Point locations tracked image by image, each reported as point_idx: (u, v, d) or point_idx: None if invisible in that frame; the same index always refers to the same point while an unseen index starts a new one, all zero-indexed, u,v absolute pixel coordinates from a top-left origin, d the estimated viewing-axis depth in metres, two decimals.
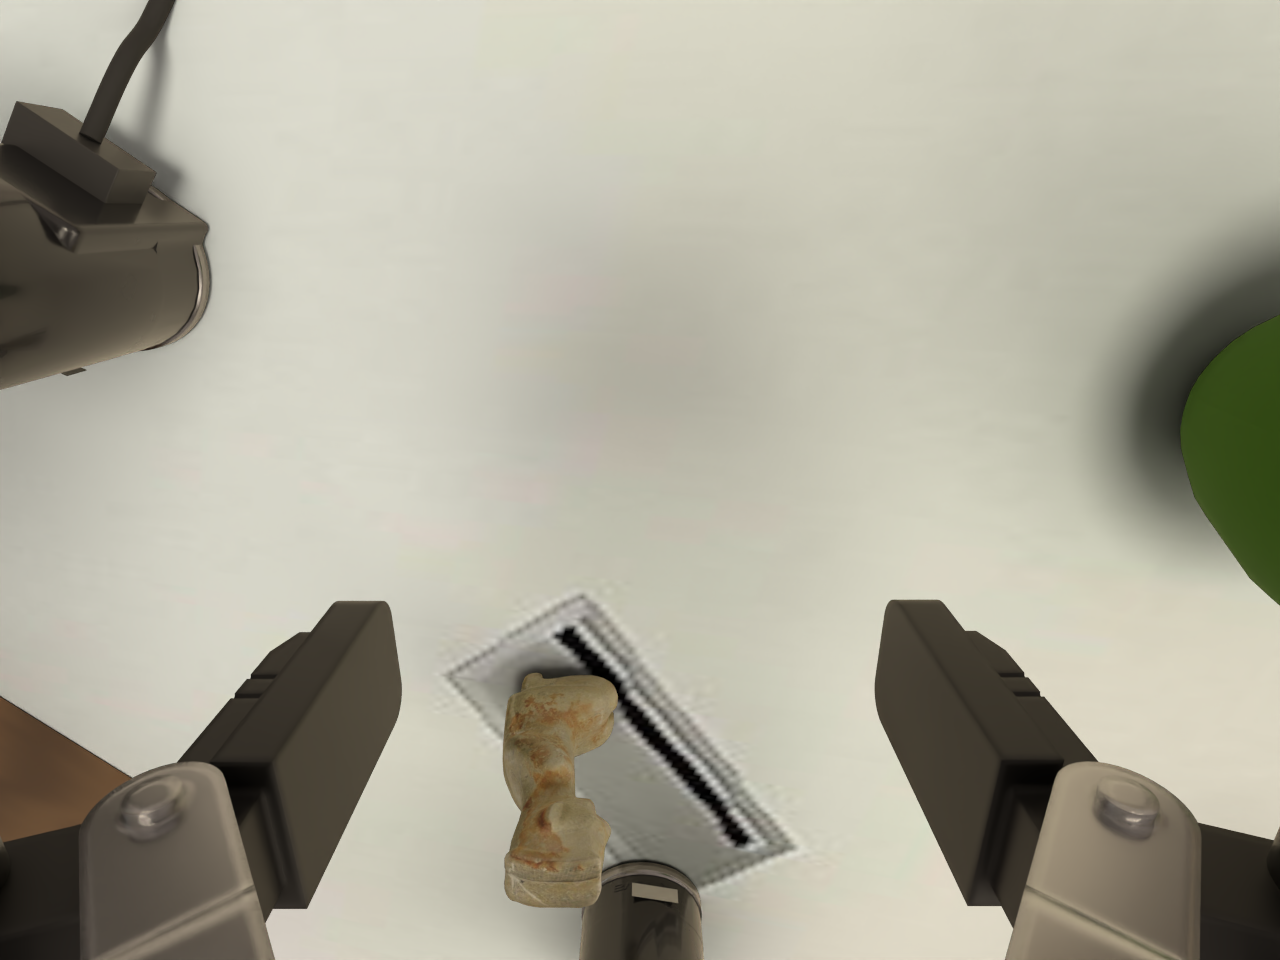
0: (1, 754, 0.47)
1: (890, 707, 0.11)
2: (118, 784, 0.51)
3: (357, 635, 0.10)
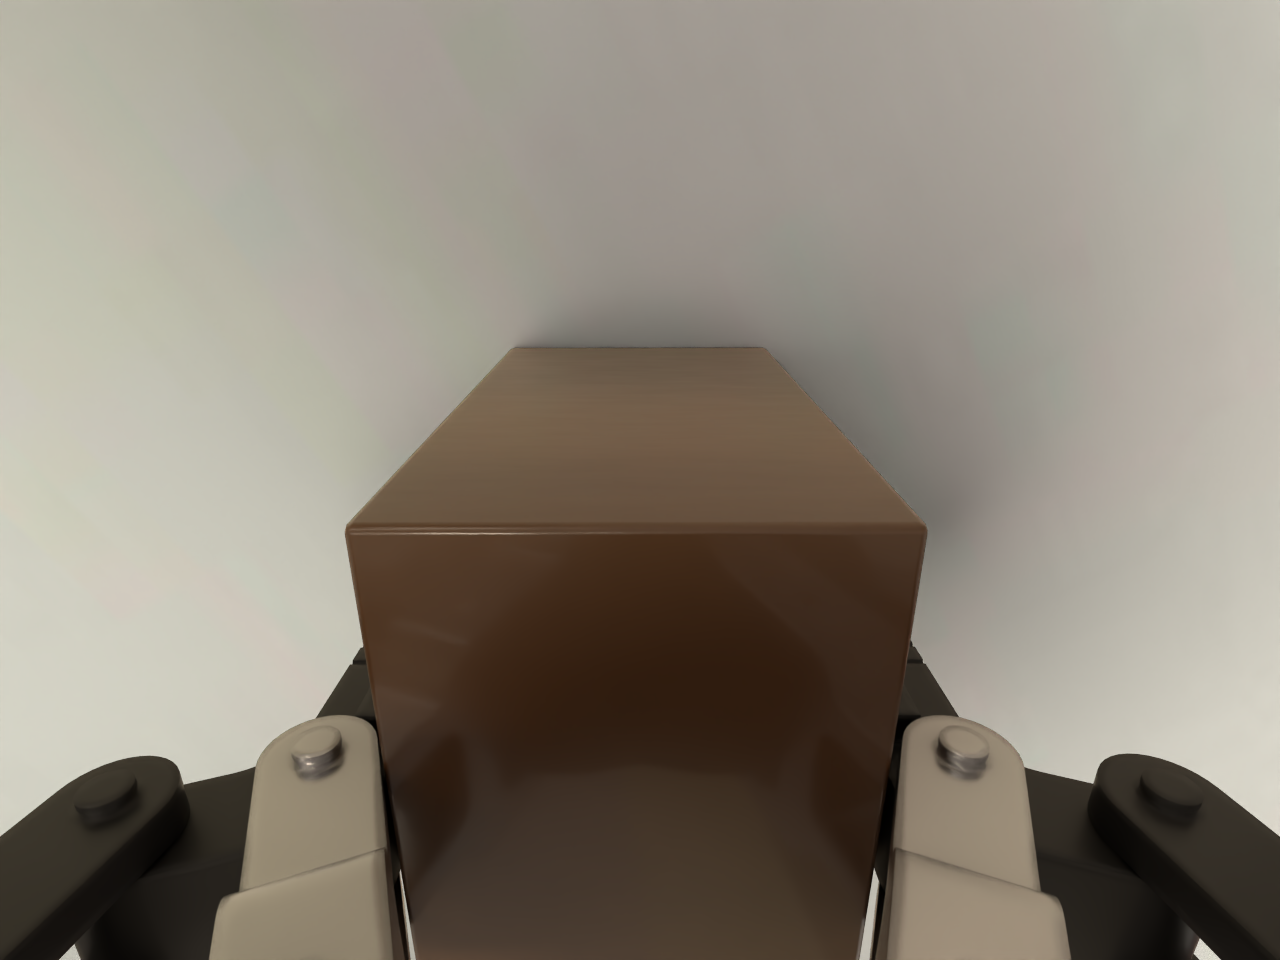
0: None
1: None
2: None
3: None
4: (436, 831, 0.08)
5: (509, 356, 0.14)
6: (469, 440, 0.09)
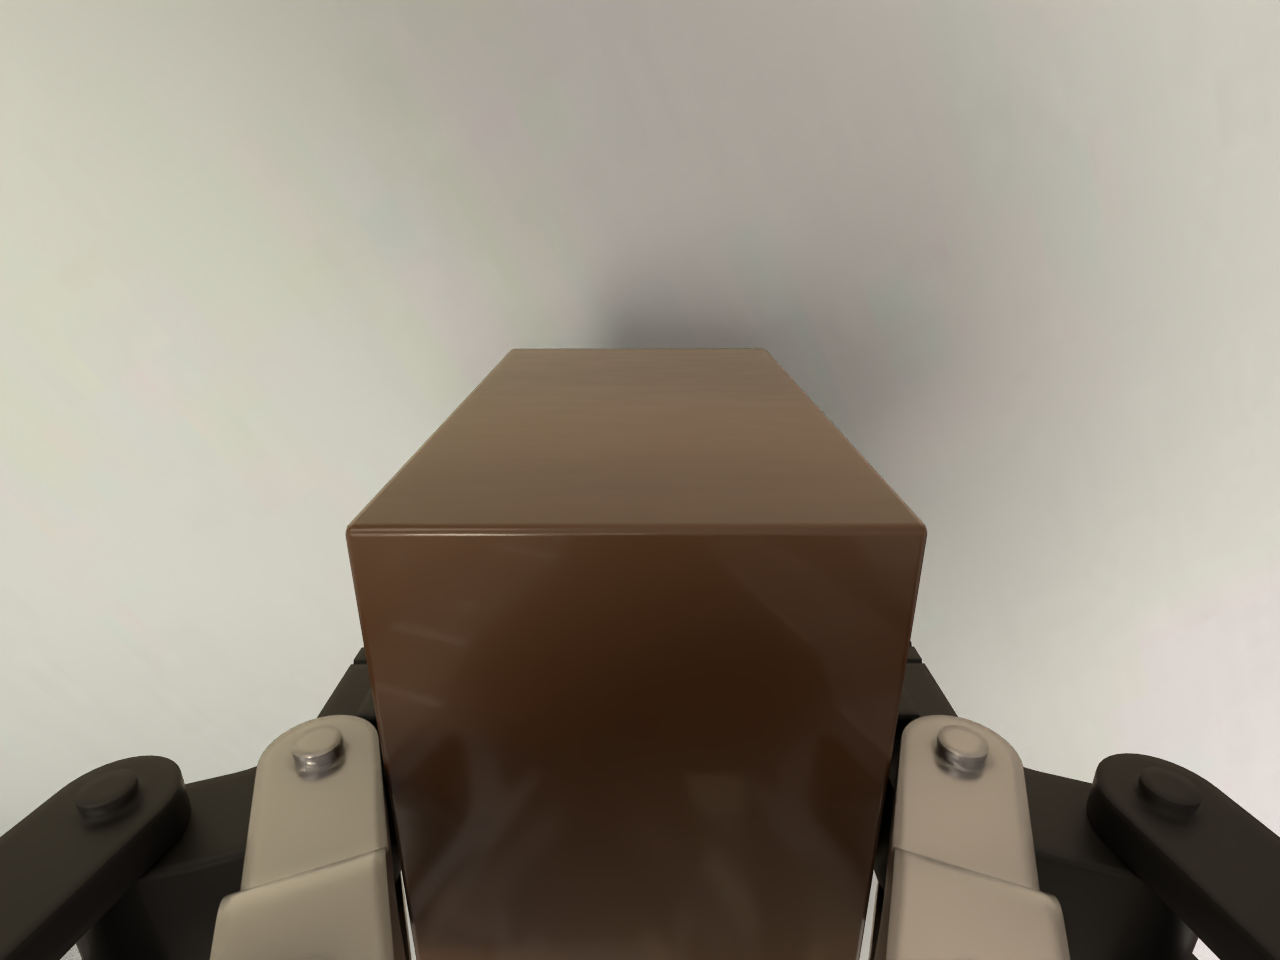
0: None
1: None
2: None
3: None
4: (438, 831, 0.08)
5: (509, 357, 0.14)
6: (469, 441, 0.09)
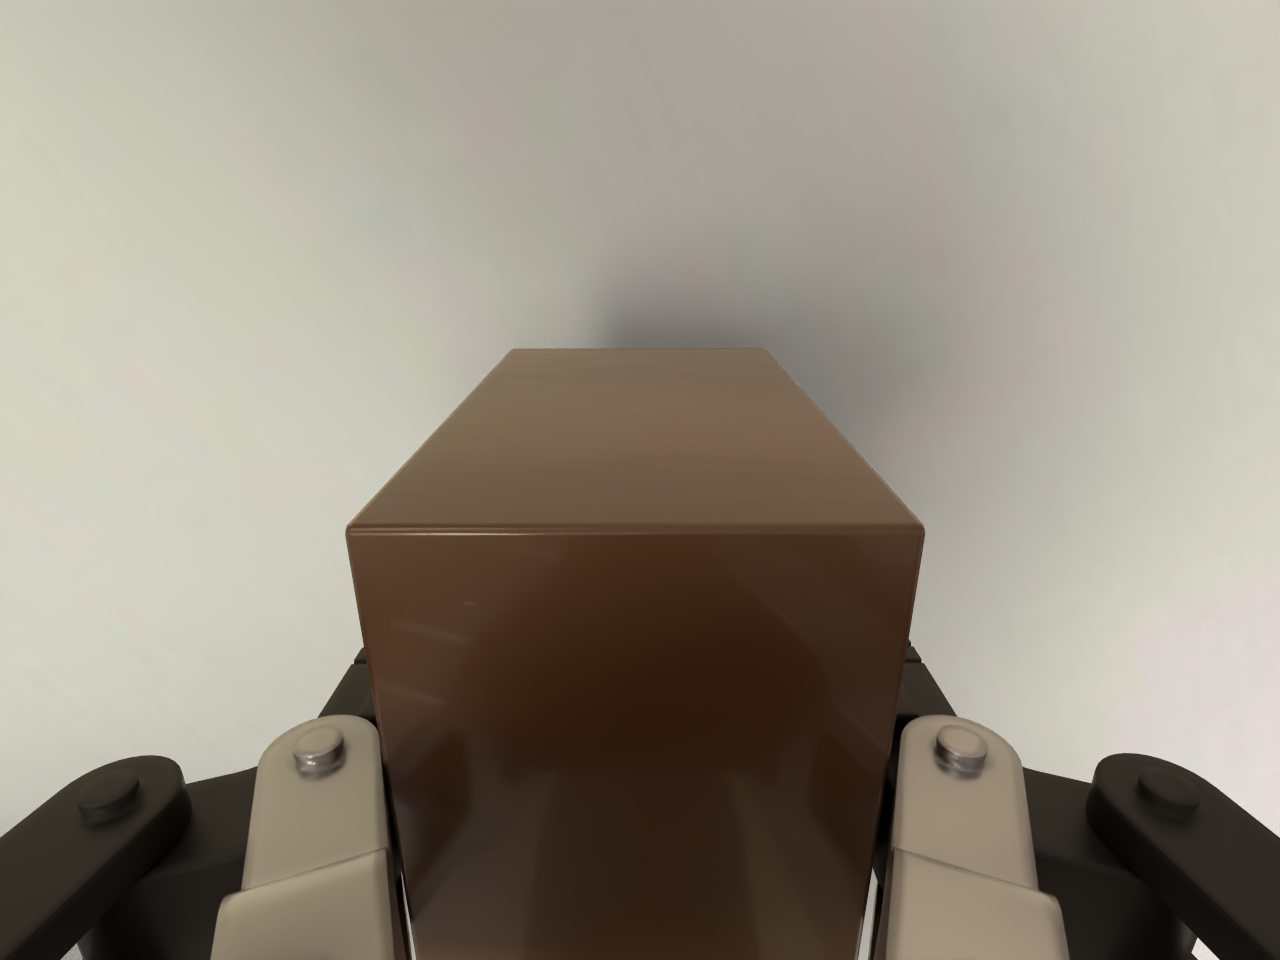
0: None
1: None
2: None
3: None
4: (437, 831, 0.08)
5: (509, 357, 0.14)
6: (469, 441, 0.09)
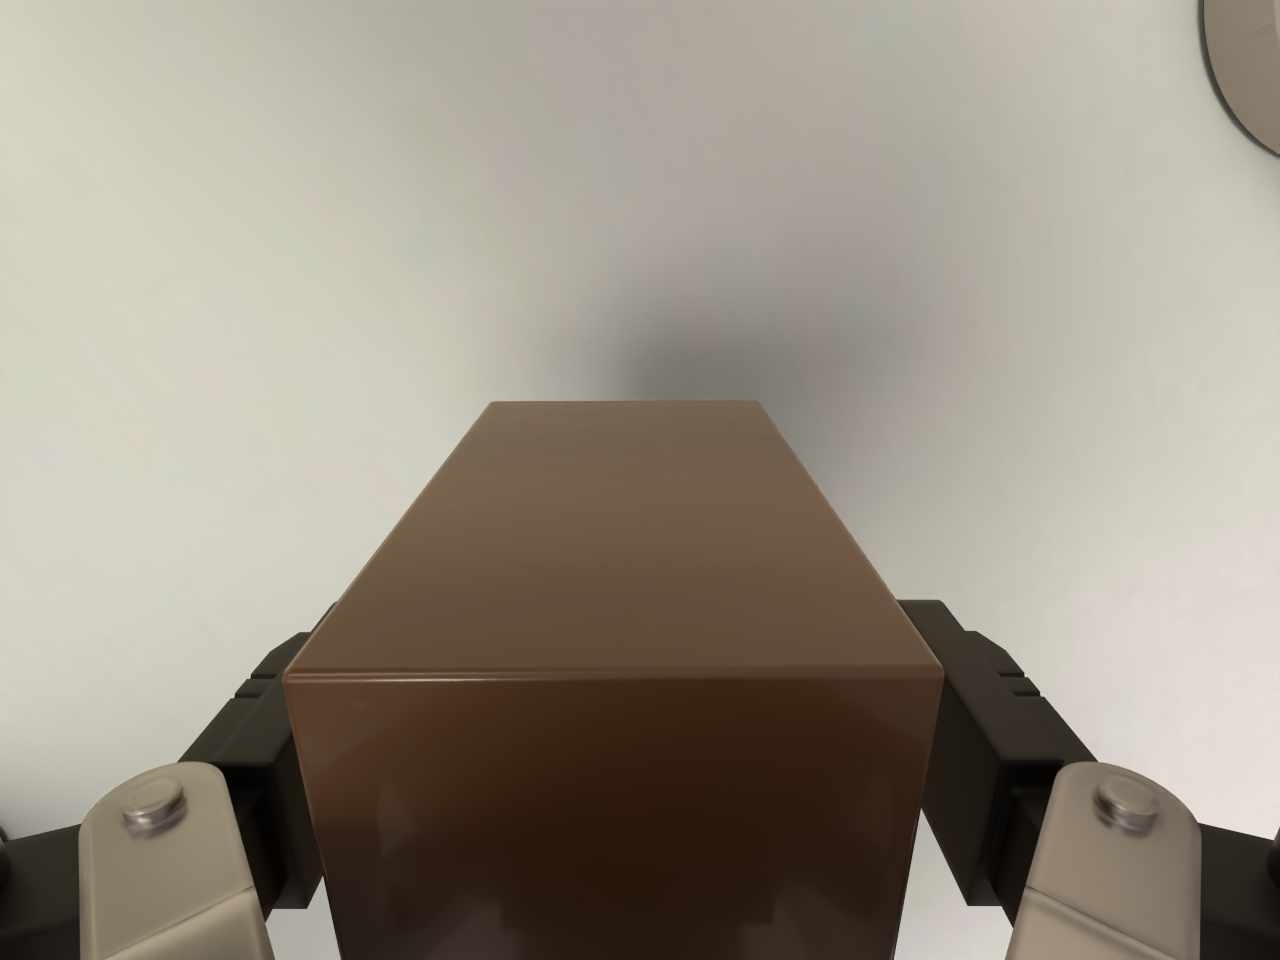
0: None
1: None
2: None
3: None
4: None
5: (487, 413, 0.13)
6: (434, 537, 0.08)
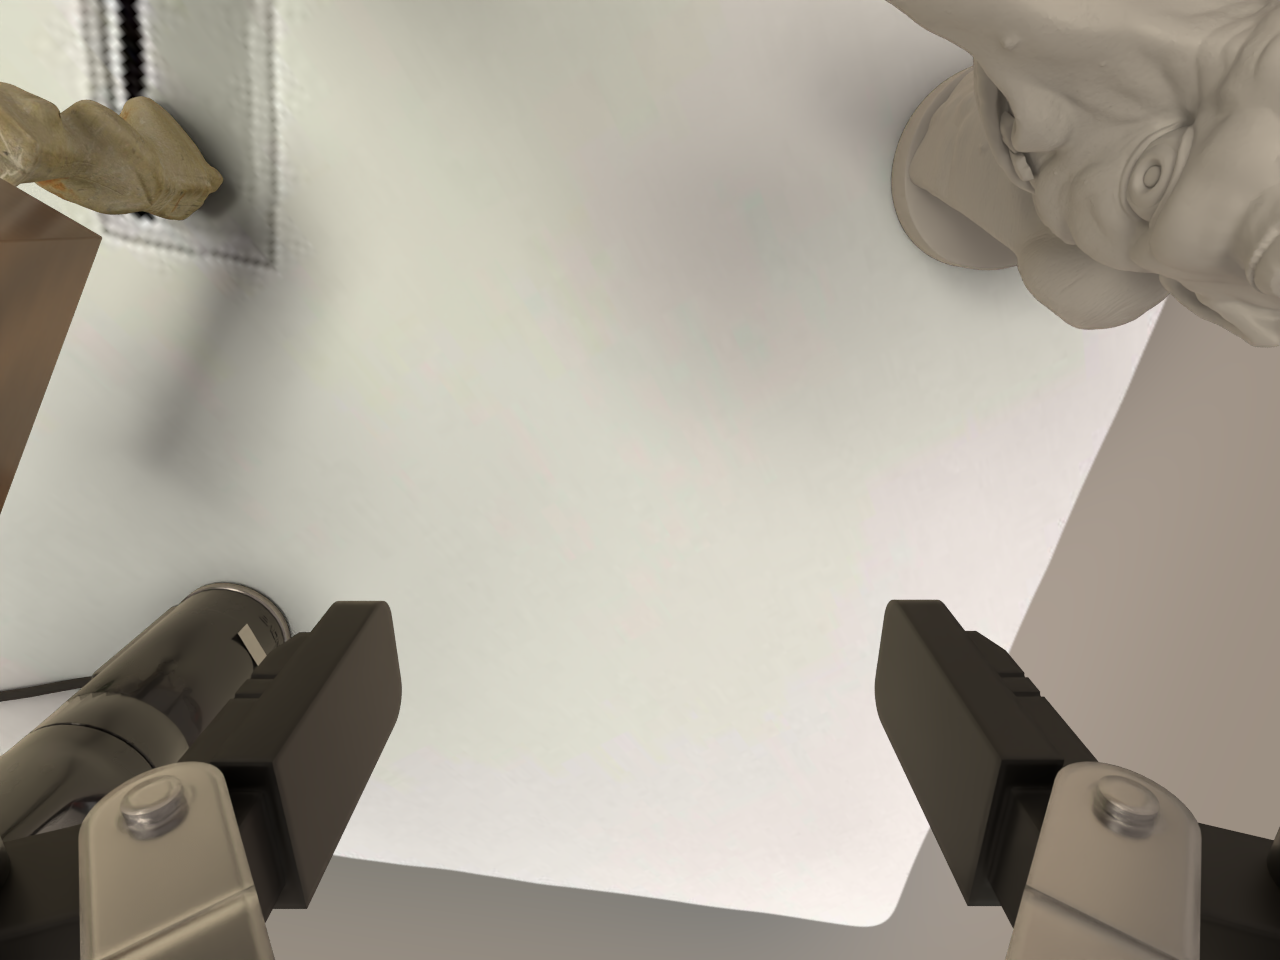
0: None
1: (890, 707, 0.11)
2: None
3: (357, 635, 0.10)
4: None
5: None
6: None
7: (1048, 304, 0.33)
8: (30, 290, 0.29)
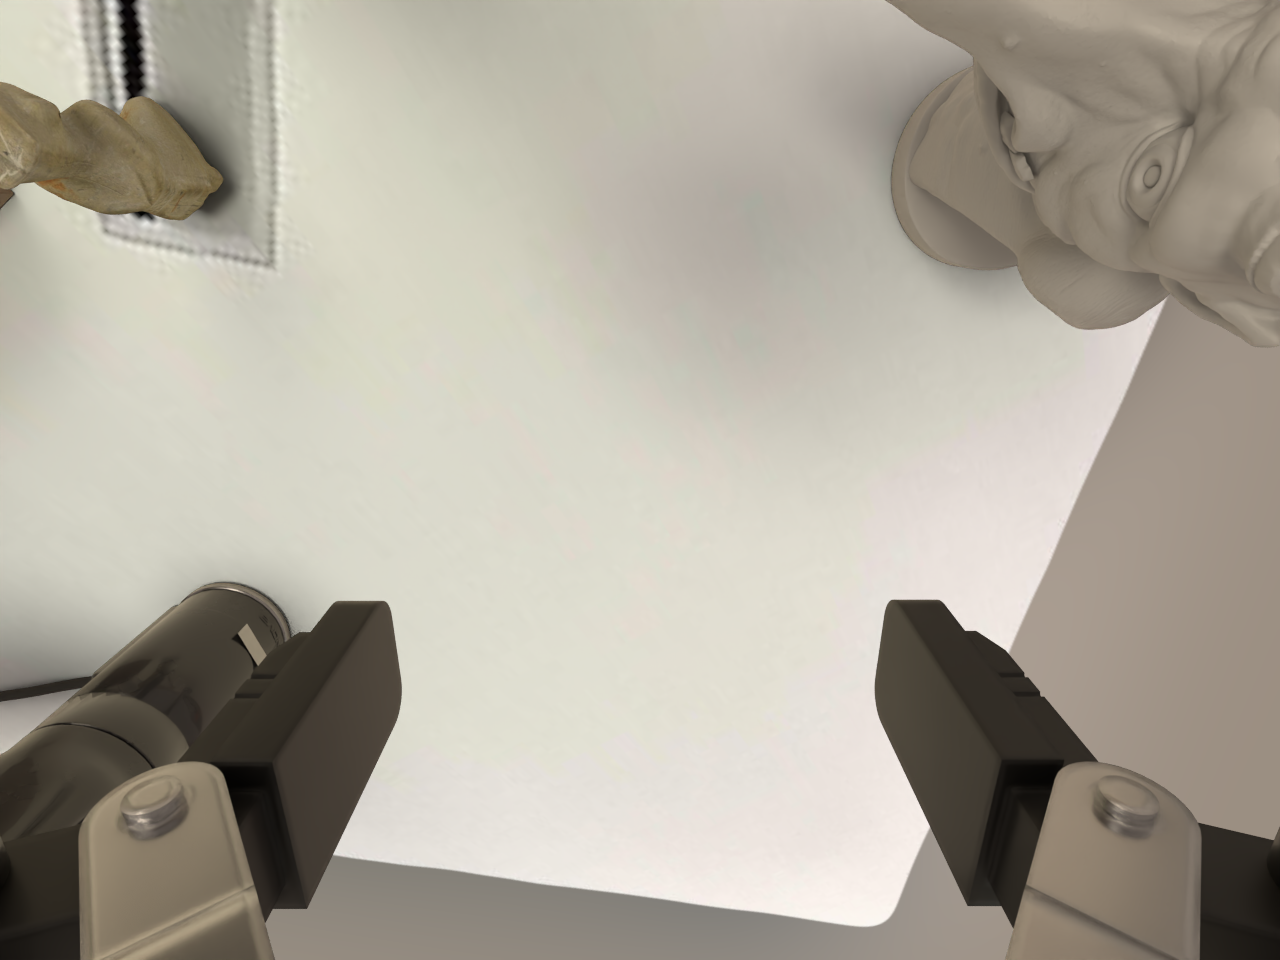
0: None
1: (890, 707, 0.11)
2: None
3: (357, 635, 0.10)
4: None
5: None
6: None
7: (1048, 304, 0.33)
8: None
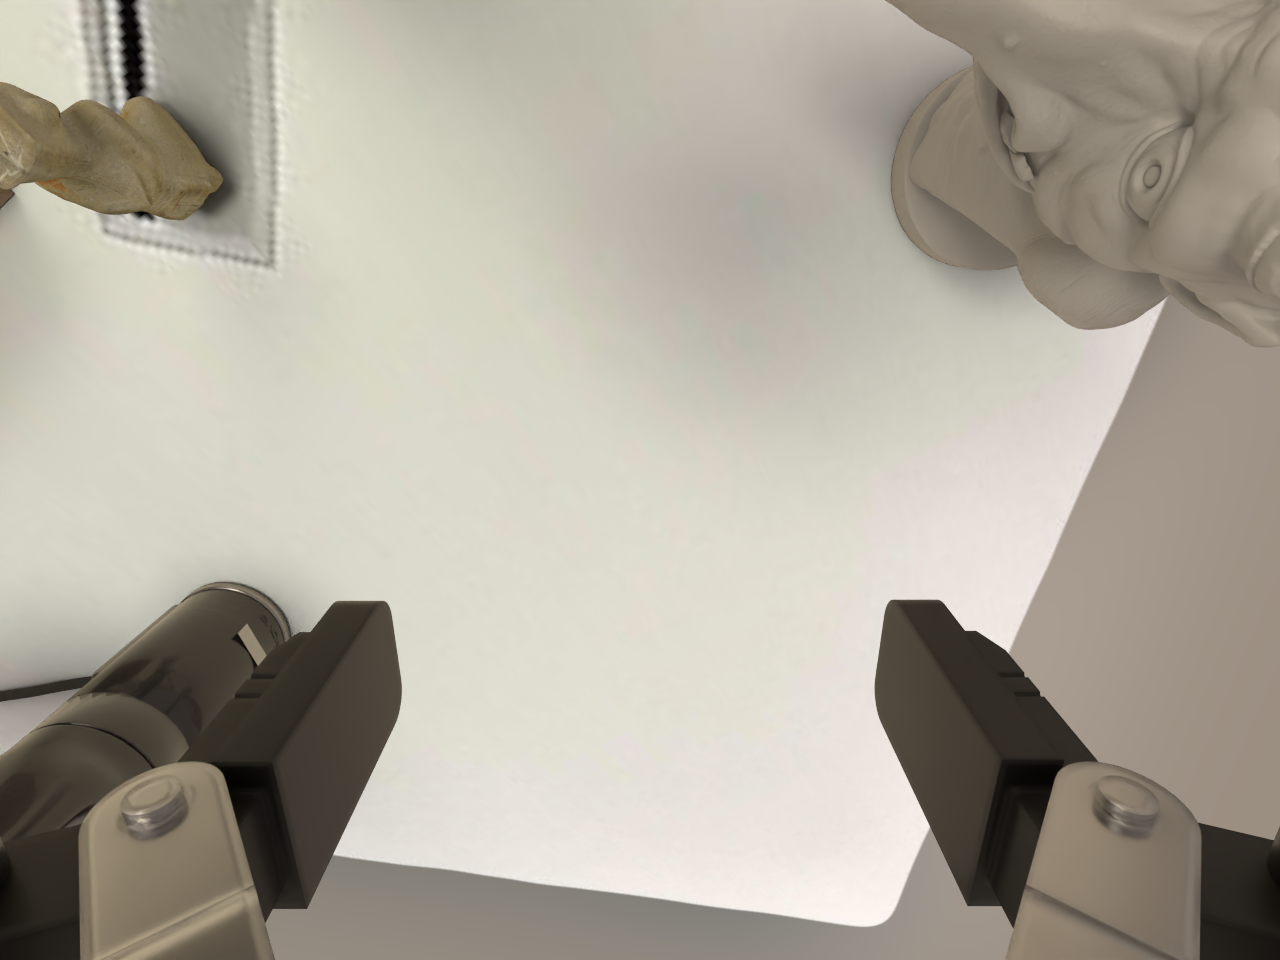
0: None
1: (890, 707, 0.11)
2: None
3: (357, 635, 0.10)
4: None
5: None
6: None
7: (1048, 304, 0.33)
8: None
